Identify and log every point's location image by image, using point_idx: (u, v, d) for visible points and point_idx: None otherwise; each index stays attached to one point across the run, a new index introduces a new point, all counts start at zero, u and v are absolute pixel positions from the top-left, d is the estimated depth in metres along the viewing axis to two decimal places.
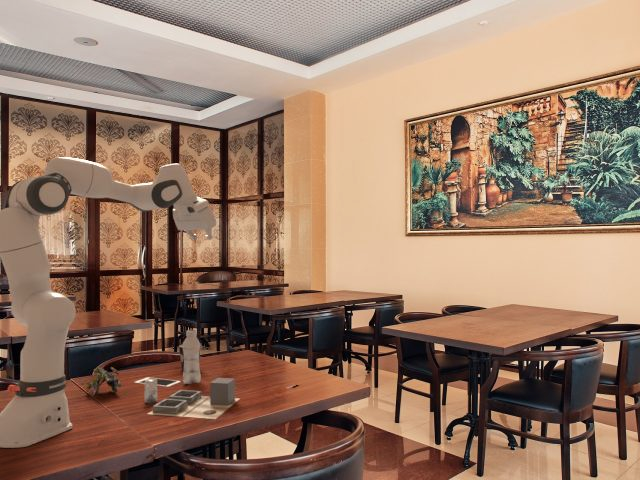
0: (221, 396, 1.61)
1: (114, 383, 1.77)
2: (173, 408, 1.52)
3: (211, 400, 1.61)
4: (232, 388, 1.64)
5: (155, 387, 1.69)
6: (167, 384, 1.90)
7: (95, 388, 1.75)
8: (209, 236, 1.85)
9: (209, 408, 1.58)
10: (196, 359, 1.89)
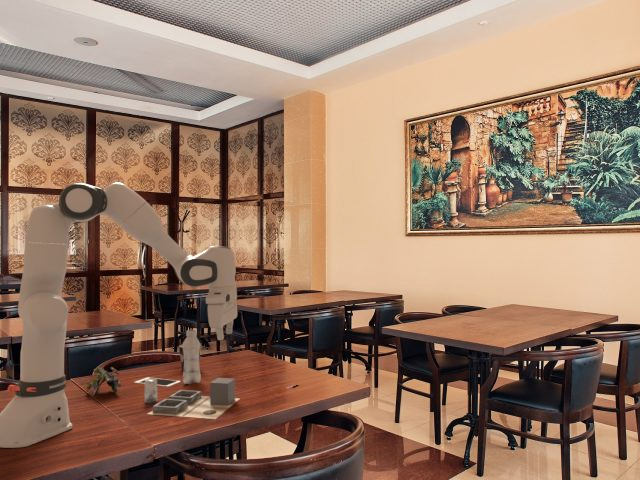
0: (221, 396, 1.61)
1: (114, 383, 1.77)
2: (173, 408, 1.52)
3: (211, 400, 1.61)
4: (232, 388, 1.64)
5: (155, 387, 1.69)
6: (167, 384, 1.90)
7: (95, 388, 1.75)
8: (218, 336, 1.62)
9: (209, 408, 1.58)
10: (196, 359, 1.89)
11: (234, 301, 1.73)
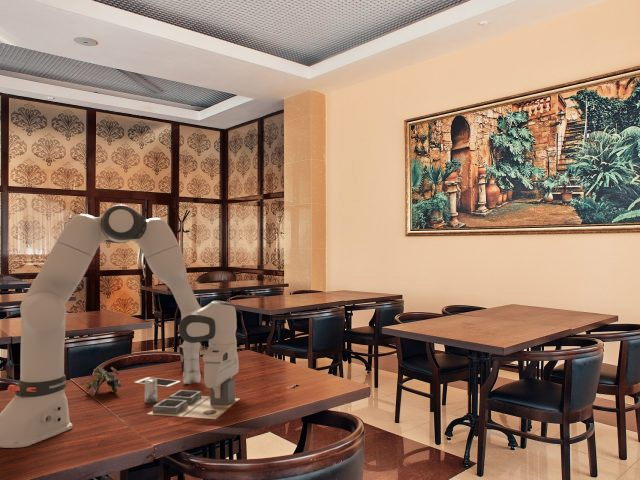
0: (221, 396, 1.61)
1: (114, 383, 1.77)
2: (173, 408, 1.52)
3: (211, 400, 1.61)
4: (232, 388, 1.64)
5: (155, 387, 1.69)
6: (167, 384, 1.90)
7: (95, 388, 1.75)
8: (216, 393, 1.60)
9: (209, 408, 1.58)
10: (196, 359, 1.89)
11: (235, 357, 1.70)
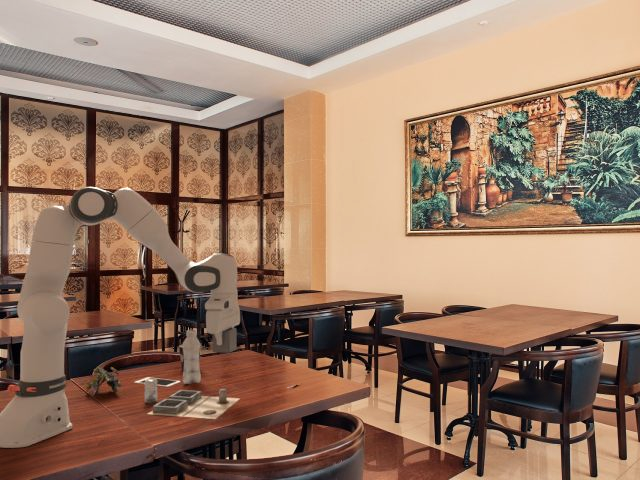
0: (223, 343, 1.67)
1: (114, 383, 1.77)
2: (173, 408, 1.52)
3: (213, 347, 1.68)
4: (233, 337, 1.71)
5: (155, 387, 1.69)
6: (167, 384, 1.90)
7: (95, 388, 1.75)
8: (218, 341, 1.66)
9: (209, 408, 1.58)
10: (196, 359, 1.89)
11: (236, 308, 1.76)
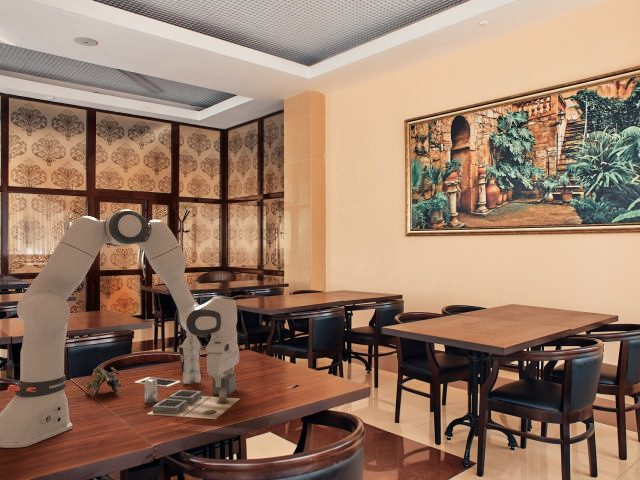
0: None
1: (114, 383, 1.77)
2: (173, 408, 1.52)
3: None
4: (233, 383, 1.75)
5: (155, 387, 1.69)
6: (167, 384, 1.90)
7: (95, 388, 1.75)
8: (216, 383, 1.70)
9: (209, 408, 1.58)
10: (196, 359, 1.89)
11: (236, 348, 1.81)
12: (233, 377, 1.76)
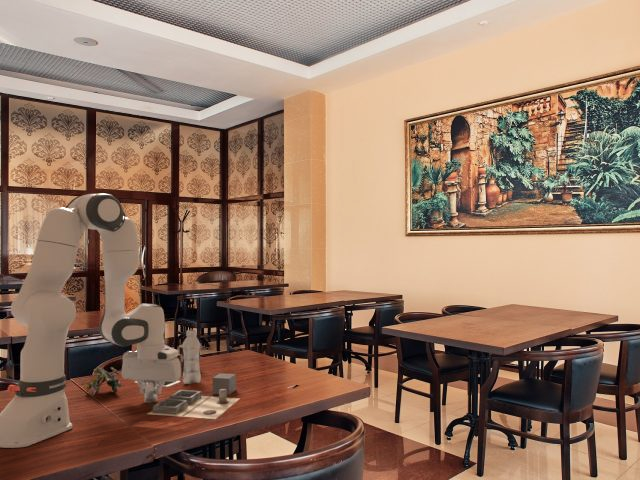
0: None
1: (114, 383, 1.77)
2: (173, 408, 1.52)
3: None
4: (233, 383, 1.75)
5: (155, 387, 1.69)
6: (167, 384, 1.90)
7: (95, 388, 1.75)
8: (159, 390, 1.69)
9: (209, 408, 1.58)
10: (196, 359, 1.89)
11: None
12: (233, 377, 1.76)
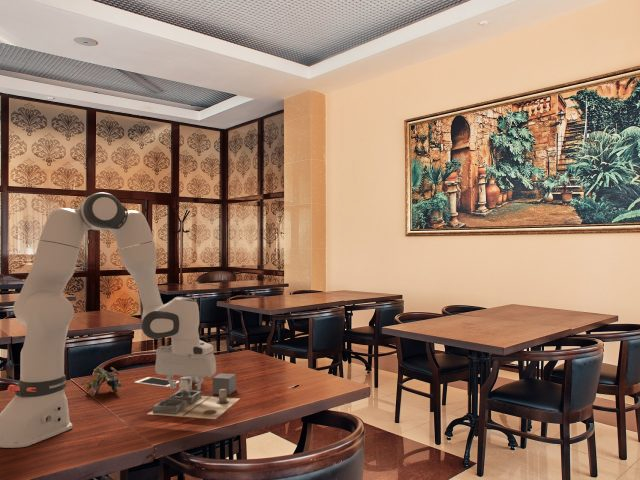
0: None
1: (114, 383, 1.77)
2: (173, 408, 1.52)
3: None
4: (233, 383, 1.75)
5: (190, 385, 1.66)
6: (167, 384, 1.89)
7: (95, 388, 1.75)
8: (199, 386, 1.65)
9: (209, 408, 1.58)
10: None
11: None
12: (233, 377, 1.76)
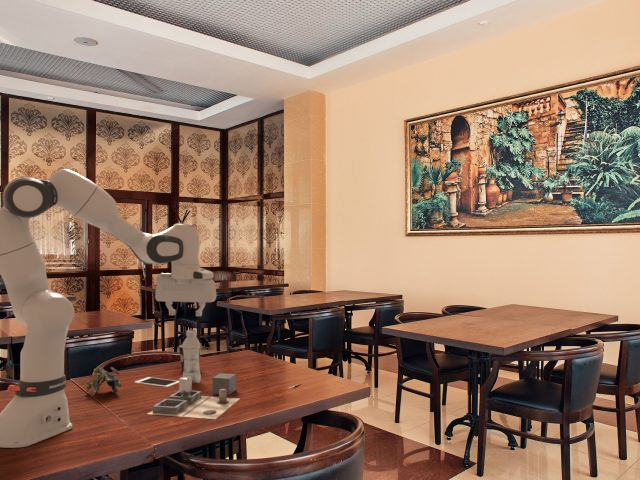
0: None
1: (114, 383, 1.77)
2: (173, 408, 1.52)
3: None
4: (233, 383, 1.75)
5: (190, 385, 1.66)
6: (167, 384, 1.89)
7: (95, 388, 1.75)
8: (200, 312, 1.65)
9: (209, 408, 1.58)
10: (196, 359, 1.89)
11: None
12: (233, 377, 1.76)
